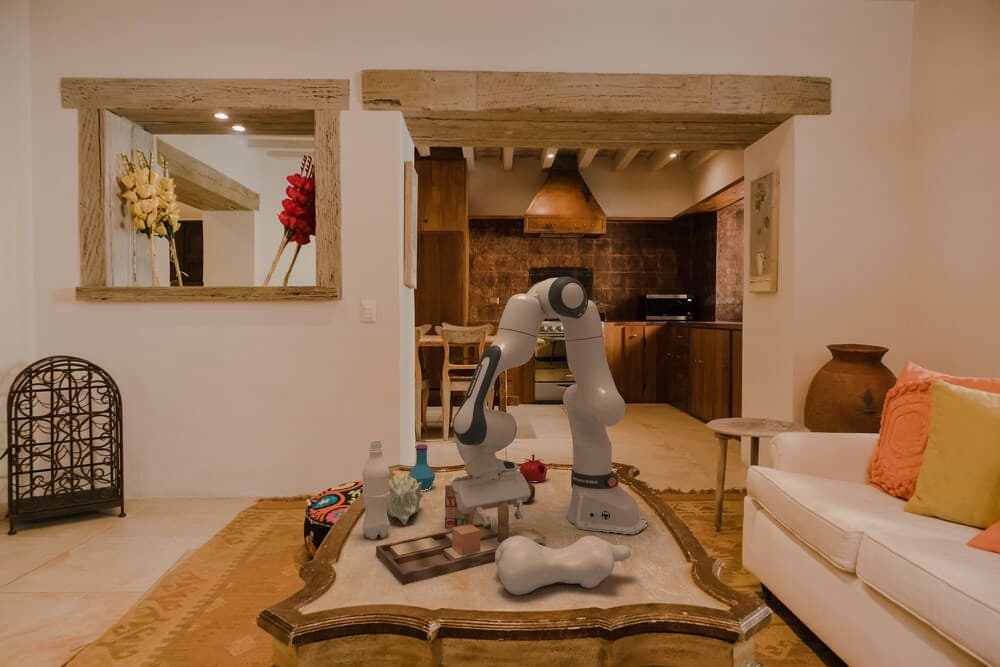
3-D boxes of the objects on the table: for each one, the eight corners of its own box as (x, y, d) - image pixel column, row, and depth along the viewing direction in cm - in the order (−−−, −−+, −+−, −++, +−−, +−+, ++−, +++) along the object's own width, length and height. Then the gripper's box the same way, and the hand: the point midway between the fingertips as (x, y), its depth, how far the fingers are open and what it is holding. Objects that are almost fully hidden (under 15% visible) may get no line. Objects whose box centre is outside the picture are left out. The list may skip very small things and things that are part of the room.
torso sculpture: (503, 612, 112) (645, 590, 115) (498, 561, 112) (640, 540, 115) (495, 577, 128) (621, 558, 131) (491, 532, 127) (616, 514, 131)
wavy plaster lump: (393, 534, 166) (383, 483, 172) (435, 522, 166) (424, 471, 172) (377, 530, 149) (367, 474, 155) (424, 517, 150) (412, 461, 156)
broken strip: (482, 530, 148) (482, 526, 148) (493, 538, 143) (493, 533, 143) (389, 551, 135) (389, 546, 135) (398, 560, 130) (398, 555, 130)
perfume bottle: (433, 492, 184) (433, 448, 184) (405, 492, 185) (405, 448, 184) (436, 484, 194) (436, 442, 193) (410, 484, 194) (410, 442, 194)
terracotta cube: (470, 544, 136) (470, 523, 136) (480, 551, 131) (480, 530, 131) (452, 548, 133) (452, 527, 133) (461, 555, 129) (461, 534, 129)
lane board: (489, 529, 151) (489, 521, 151) (526, 553, 136) (526, 544, 136) (376, 554, 135) (376, 545, 135) (403, 584, 119) (403, 574, 119)
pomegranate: (518, 484, 196) (517, 458, 195) (521, 476, 206) (521, 451, 205) (546, 485, 194) (545, 458, 194) (548, 476, 204) (547, 451, 204)
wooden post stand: (532, 533, 146) (532, 494, 146) (546, 540, 141) (546, 501, 141) (443, 554, 133) (443, 512, 132) (454, 563, 127) (454, 519, 127)
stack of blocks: (460, 503, 174) (460, 464, 174) (480, 504, 173) (480, 465, 173) (444, 528, 153) (444, 484, 152) (467, 529, 152) (467, 485, 152)
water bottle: (366, 543, 142) (365, 446, 142) (359, 533, 148) (359, 441, 148) (393, 538, 145) (393, 443, 145) (385, 529, 152) (385, 438, 151)
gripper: (453, 472, 138) (471, 523, 130) (521, 461, 149) (542, 508, 140) (445, 485, 142) (462, 535, 134) (512, 474, 152) (532, 520, 144)
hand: (504, 521), depth 137 cm, fingers open, 8 cm apart
